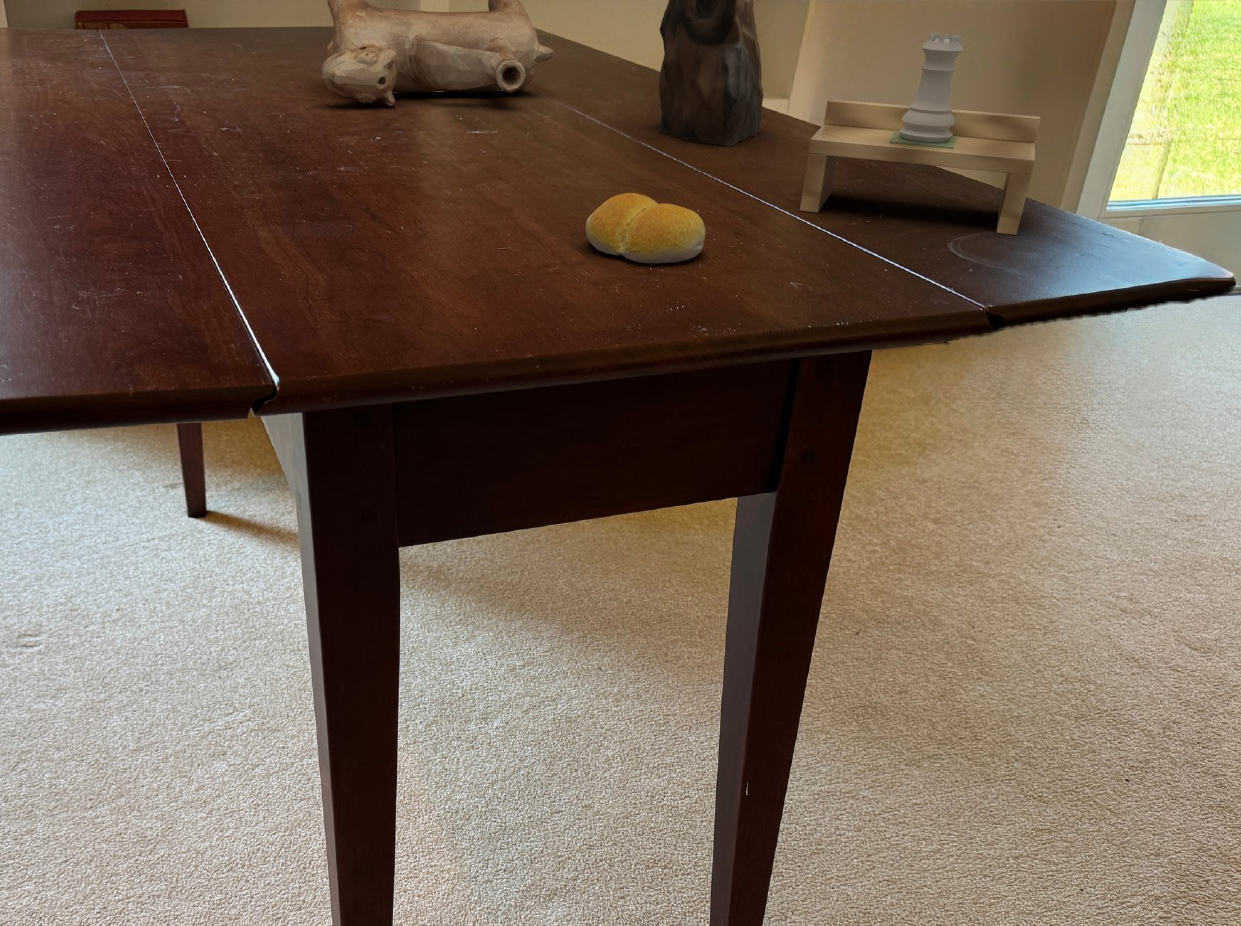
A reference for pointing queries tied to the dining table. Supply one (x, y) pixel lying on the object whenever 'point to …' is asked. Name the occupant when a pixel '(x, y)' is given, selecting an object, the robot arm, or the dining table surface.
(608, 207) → the bread roll
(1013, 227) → the bench
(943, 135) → the rook chess piece
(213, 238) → the dining table surface
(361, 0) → the ceramic vessel
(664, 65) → the owl
